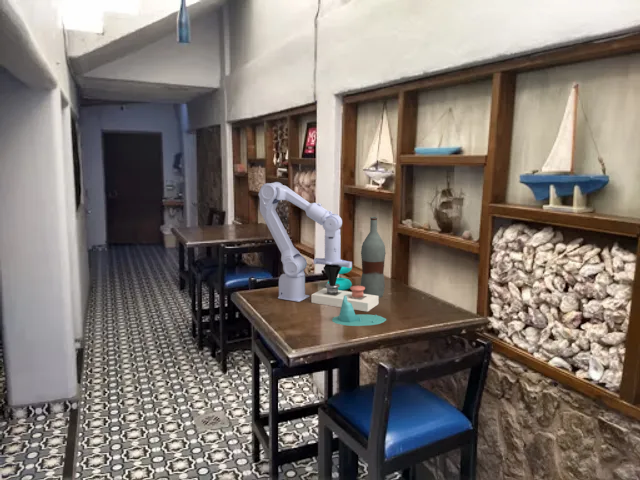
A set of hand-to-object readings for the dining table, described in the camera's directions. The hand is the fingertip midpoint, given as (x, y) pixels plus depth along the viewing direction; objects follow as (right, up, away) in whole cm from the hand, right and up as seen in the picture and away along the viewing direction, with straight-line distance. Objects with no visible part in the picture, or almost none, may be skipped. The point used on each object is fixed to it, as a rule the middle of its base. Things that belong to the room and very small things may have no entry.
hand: (332, 285), depth 175 cm
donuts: (+3, -3, +20) cm, 20 cm away
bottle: (+15, -5, +9) cm, 18 cm away
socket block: (+4, -6, -1) cm, 8 cm away
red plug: (+9, -3, -4) cm, 10 cm away
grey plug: (0, -3, +1) cm, 3 cm away
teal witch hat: (+8, -10, -19) cm, 23 cm away
